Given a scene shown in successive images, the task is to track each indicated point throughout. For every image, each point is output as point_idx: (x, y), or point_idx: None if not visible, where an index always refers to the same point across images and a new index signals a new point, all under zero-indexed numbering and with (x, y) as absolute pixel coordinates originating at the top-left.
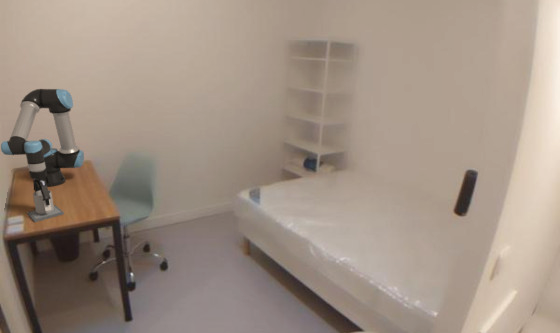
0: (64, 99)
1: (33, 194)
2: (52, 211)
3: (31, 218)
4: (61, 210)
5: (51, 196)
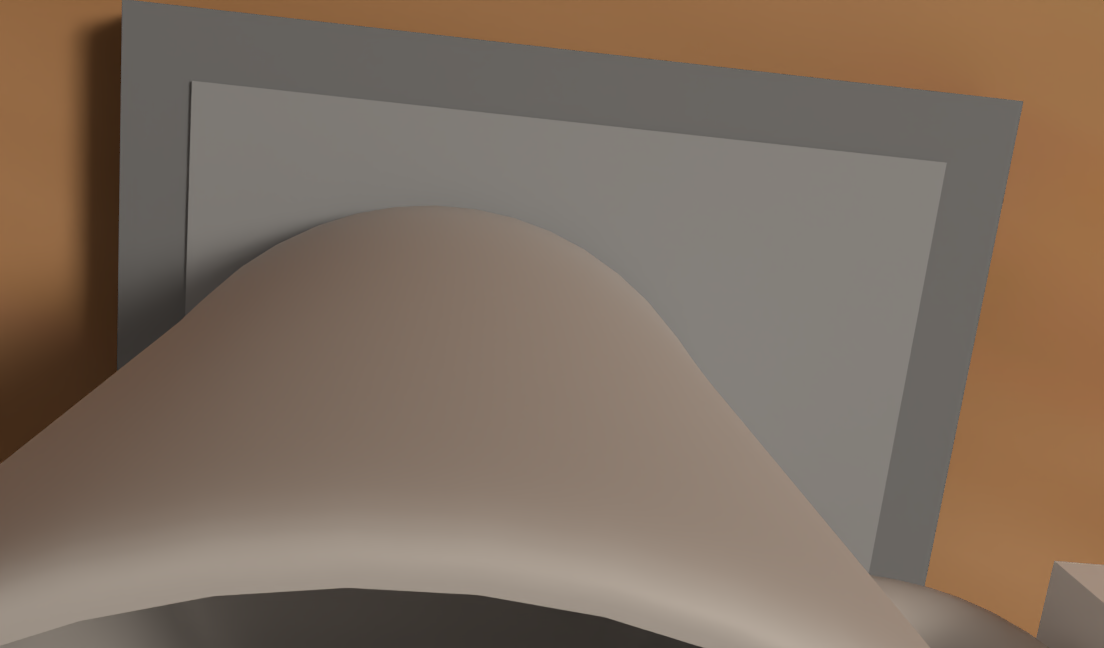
0: None
1: None
2: None
3: None
4: (817, 83)
5: (785, 493)
